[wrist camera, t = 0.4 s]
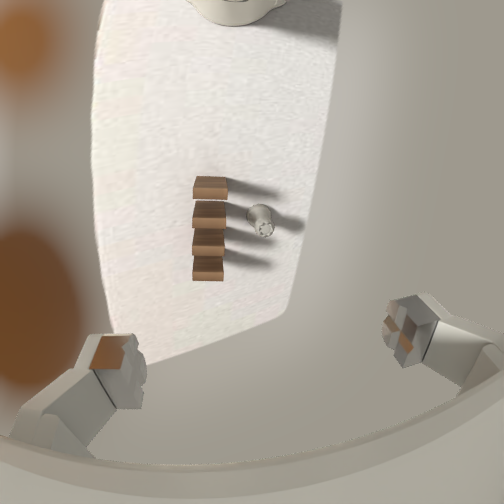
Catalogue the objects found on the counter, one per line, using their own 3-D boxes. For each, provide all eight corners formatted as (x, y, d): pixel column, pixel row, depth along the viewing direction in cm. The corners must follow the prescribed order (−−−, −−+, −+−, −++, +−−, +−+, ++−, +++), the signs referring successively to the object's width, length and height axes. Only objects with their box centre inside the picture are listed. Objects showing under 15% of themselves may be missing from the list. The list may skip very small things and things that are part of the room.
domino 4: (195, 246, 55) (192, 272, 46) (221, 247, 56) (223, 272, 47) (195, 254, 56) (192, 280, 47) (221, 254, 56) (223, 281, 47)
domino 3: (195, 224, 53) (192, 245, 44) (222, 225, 54) (224, 246, 45) (195, 232, 54) (192, 255, 45) (222, 233, 55) (224, 256, 46)
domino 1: (196, 176, 50) (193, 187, 41) (225, 177, 50) (227, 189, 41) (196, 184, 50) (192, 198, 41) (224, 185, 51) (227, 199, 42)
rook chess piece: (273, 207, 54) (283, 221, 47) (264, 229, 55) (273, 246, 48) (251, 199, 53) (258, 212, 45) (242, 222, 54) (247, 238, 47)
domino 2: (195, 200, 51) (192, 217, 42) (223, 201, 52) (226, 218, 43) (195, 209, 52) (192, 228, 43) (223, 209, 53) (225, 228, 44)
